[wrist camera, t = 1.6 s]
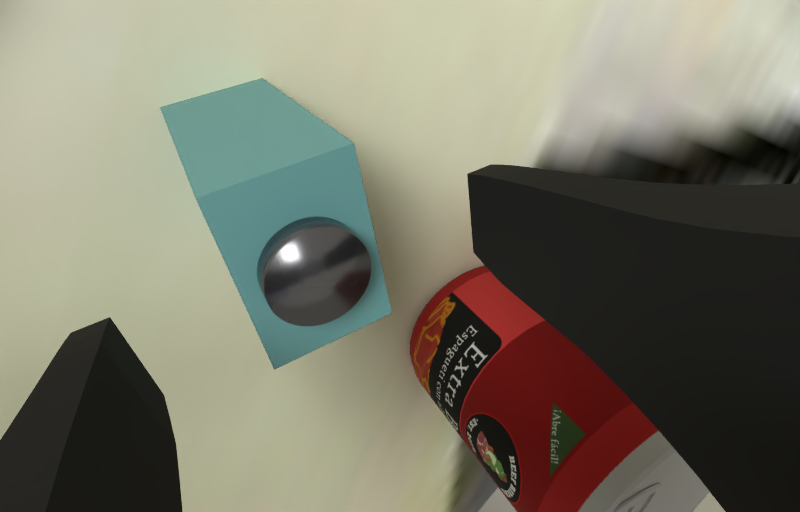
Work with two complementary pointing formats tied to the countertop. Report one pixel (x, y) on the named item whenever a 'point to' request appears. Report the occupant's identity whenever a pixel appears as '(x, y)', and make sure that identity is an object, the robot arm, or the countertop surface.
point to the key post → (283, 214)
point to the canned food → (541, 408)
